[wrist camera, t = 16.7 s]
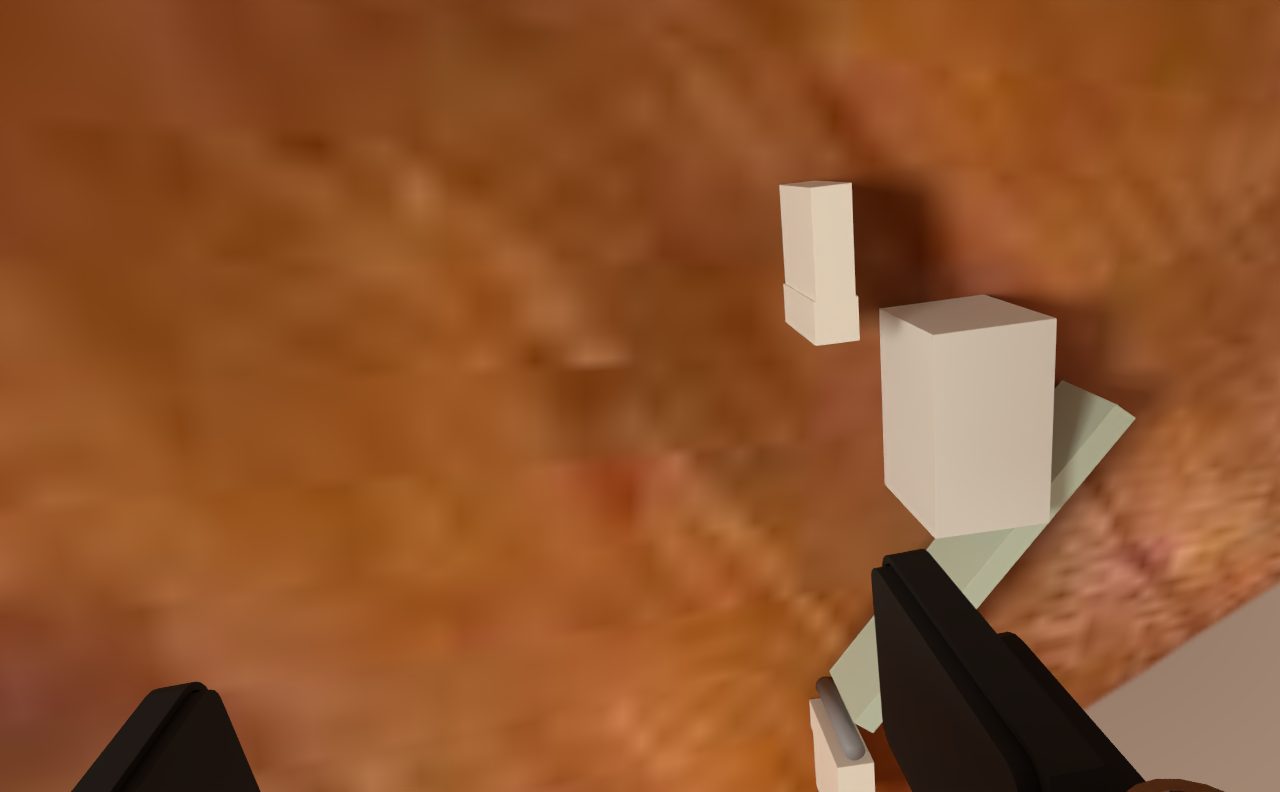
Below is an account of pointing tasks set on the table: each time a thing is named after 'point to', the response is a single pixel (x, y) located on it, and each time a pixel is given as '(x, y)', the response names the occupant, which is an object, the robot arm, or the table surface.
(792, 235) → the notched cream block
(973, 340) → the block
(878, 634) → the robot arm
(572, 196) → the table surface
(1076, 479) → the door
